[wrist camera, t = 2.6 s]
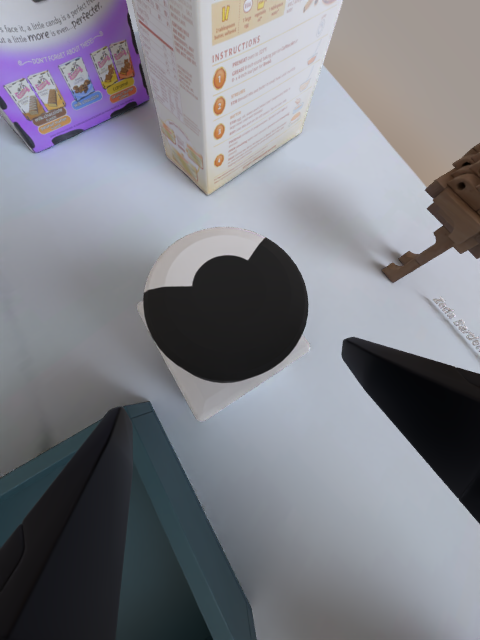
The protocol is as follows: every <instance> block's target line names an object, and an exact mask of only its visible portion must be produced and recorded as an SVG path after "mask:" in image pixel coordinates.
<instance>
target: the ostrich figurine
mask: <svg viewBox="0 0 480 640" xmlns="http://www.w3.org/2000/svg"><path fill="white" fill-rule="evenodd" d="M452 165H453V166H454V167H455V168H454V169H452V170H451V171H450V172H448V173H446V174H444V175H443V176H441V177H439V178H438V179H436V180H435V181H434V182H433V183H432V184H431V185H430V186H429V187H427V188H426V189H425V191H426V192H427V193H428V194H429V195H430V196H431V197H432V198H433V201H434V203H433V204H431V205H430V206H429V207H428V208H427V210H428V211H429V212H430V213H431V214H432V215H433V216H435V218H436V219H437V220H438V221H439V222H440V223H441V224H443V226H442V227H440V228H439V229H438V230H436V231H435V232H434V235H435V236H436V243H435V244H434V245H432V246H431V247H429V248H428V249H426V250H425V251H423V252H422V253H420V254H414V253H412V252H410V251H408V252H407V253H405V254H404V255H403V256H401V257H400V258H398V259H399V260H400V262H401V263H402V264H403V265H404V266H398V265H395V264H394V263H391V264H390V265H388V266H387V267H385V268H384V269H383V270H382V271H383V272H384V274H385V275H386V276H387V277H388V278H389V279H390V280H391V282H392V283H394V282H396V281H397V280H399V279H400V278H402V277H404V276H405V275H407V274H409V273H410V272H412V271H414V270H415V269H417V268H419V267H420V266H422V265H424V264H425V263H427V262H428V261H430V260H432V259H433V258H435V257H437V256H438V255H440V254H442V253H443V252H445V251H447V250H448V249H450V248H452V247H454V248H455V249H456V250H457V251H458V252H459V253H460V254H462V253H464V252H465V251H467V250H469V252H470V253H471V254H472V255H473V256H474V257H475V258H476V259H478V258H480V143H479V144H477V145H476V146H474V147H473V148H472V149H471V150H470V151H468V152H467V153H466V154H465V155H464V156H463V157H462V158H461V159H459V160H458V161H456V162H454V163H453V164H452ZM439 298H440V299H433V301H434V302H435V303H436V304H438V302H437V301H442V302H444V301H445V300H444V299H443V298H442V297H439ZM445 306H446V304H445V303H440V304H439V307H440V308H444V307H445ZM445 309H448V311H445ZM452 311H454V309H452V310H450V308H447V307H446V308H444V309H443V312H445V314H446V313H449V312H452ZM447 316H448V317H449V319H451V318H453V317H455V316H456V315H455V314H454V313H452V314H448V315H447ZM461 322H462V323H461ZM453 323H454V324H455V325H456V326H460V325H463V324H464V323H465V322H464V321H463V320H459V321H455V322H453ZM457 323H458V324H457ZM466 329H467V327H466V326H463V327H462V326H460V327H459V330H461V332H462V331H463V330H466ZM462 333H463V334H464V333H469V334H470V335H467V336H466V338H469V337H470V336H472V337H474V338H469V339H468V340H473V339H478V338H479V337H475V336H474V334H472V333H471V332H470V331H465V332H462ZM472 344H473V345H474V346H475V345H479V344H480V342H479V341H478V340H473V341H472ZM479 347H480V346H477V347H476V349H479ZM479 352H480V350H479Z"/></svg>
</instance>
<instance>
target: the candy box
mask: <svg viewBox="0 0 480 640" xmlns="http://www.w3.org/2000/svg"><path fill="white" fill-rule="evenodd" d="M148 100H149V94H148V90H147V86H146V81H145V77H144V73H143V69H142V66H141V61H140V57H139V53H138V49H137V45H136V40H135V36H134V32H133V29H132V24H131V20H130V15H129V13H128V8H127V3H126V0H0V114H1V115H2V116H3V118H4V119H5V120H6V121H7V123H8V124H9V125H10V126H11V127H12V129H13V130H14V131H15V132H16V133H17V134H18V135H19V136H20V138H21V139H22V140H23V141H24V143H25V144H26V145H27V146H28V147H29V148H30V149H31V151H32V152H33V153H35V152H41V151H43V150H45V149H47V148H50V147H52V146H54V145H56V144H57V143H59V142H61V141H63V140H66V139H68V138H70V137H73V136H75V135H77V134H79V133H80V132H82V131H85V130H87V129H89V128H91V127H94V126H96V125H98V124H100V123H102V122H104V121H106V120H108V119H110V118H112V117H114V116H117V115H119V114H121V113H123V112H125V111H127V110H129V109H131V108H133V107H136V106H138V105H140V104H142V103H143V102H146V101H148Z"/></svg>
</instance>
